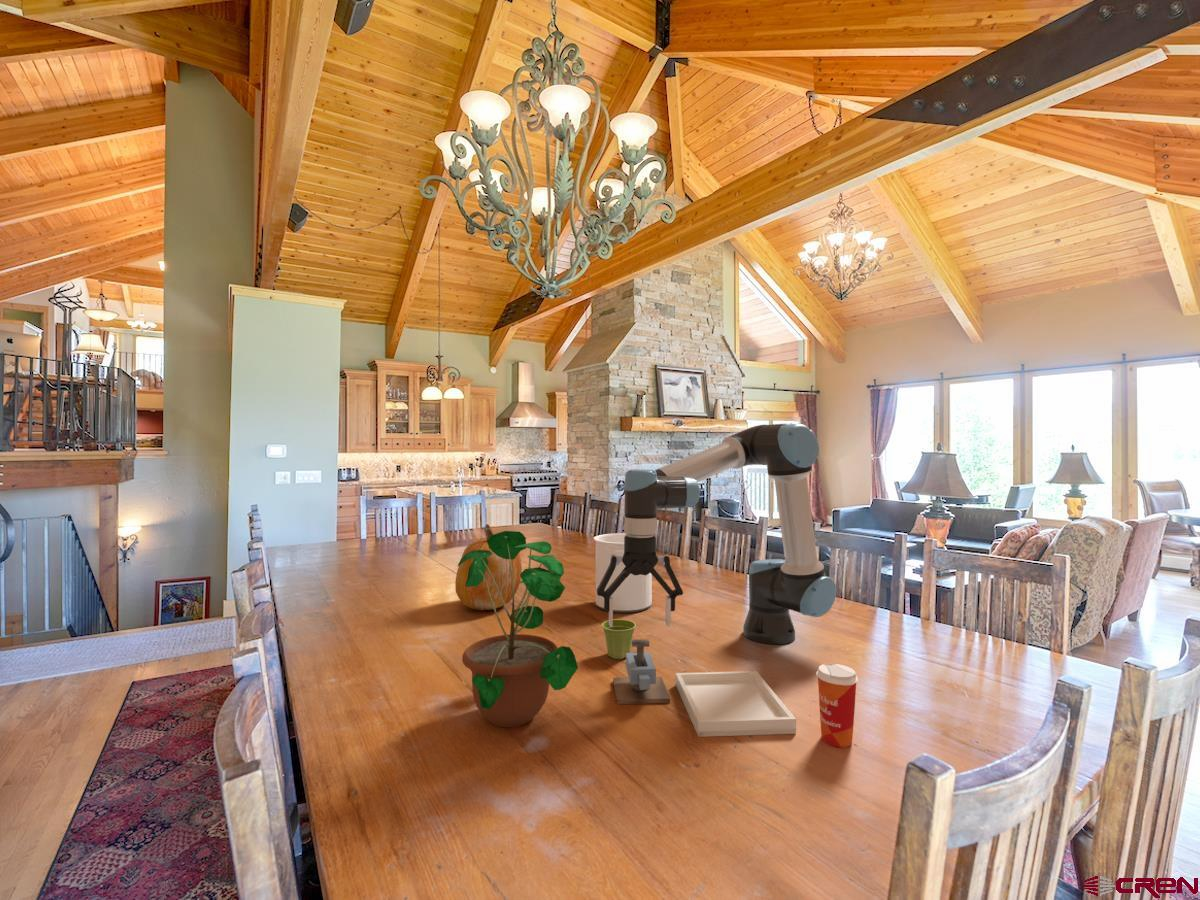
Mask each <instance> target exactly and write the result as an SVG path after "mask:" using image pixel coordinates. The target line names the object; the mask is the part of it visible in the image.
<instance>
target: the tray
mask: <svg viewBox="0 0 1200 900" xmlns="http://www.w3.org/2000/svg"><path fill="white" fill-rule="evenodd" d="M675 687H676V689H677V691H678V694H679V696H680V698H681V700H682V703H683V705H684V708H685V709H686V712H687V714H688V716H689V719H690V721H691V723H692V725H693V727H694V731H695V732H696V734H697V737H698V738H701V737H703V738H704V737H706V738H707V737H732V736H733V737H736V736H737V737H739V736H764V735H792V734H793V735H795V734H797V718H796V717H795V716H794V715H793V713H792V712H791V711H790V710H789V708H787V706H786V705H785V703H783V701H782V700H781V699H780V697H779V696H778V695H777V694H776V693H775V692H774V690H773V689H772V688H771V686H769V684H768V683H767V682H766V681H765V680H764V678H763V677H762V675H760V673H759V672H758V671H757V670H755V671H754V670H750V671H745V670H744V671H710V672H709V671H708V672H700V671H699V672H675Z"/></svg>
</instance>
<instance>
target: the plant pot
mask: <svg viewBox="0 0 1200 900" xmlns="http://www.w3.org/2000/svg"><path fill="white" fill-rule="evenodd" d="M636 624H637V623H635V622H634V621H632V620H630V619H629V620H628V619H619V618H618V619H617V618H616V619H614V618H613V627H609V619H608V620H605V621H604V622H602V623H601V627H602V629H603V633H604V635H605V643H606V651H607V656H608V657H610V658H611V659H614V660H624V659H626V653H632V652H631V651H632V650H631V649H632V640H633V636H634V635H633V634H634V632H635V629H636V627H637V625H636Z"/></svg>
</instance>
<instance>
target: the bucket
mask: <svg viewBox="0 0 1200 900" xmlns="http://www.w3.org/2000/svg"><path fill="white" fill-rule="evenodd" d="M626 535H627V534H625V533H624V532H623V533H619V532H618V533H617V532H616V533H615V532H613V533H605V534H600V535H596V536H594V537H593V541H594V542H595V605H596V606H597V607H598V608H599V609H601V610H602V611H605V610H604V597H602V596H598V595H597V588H598V586H599V584H600V582H601V580H602V578H603V577H604V575H605V573H606V571H607V569H608V567H609V565H610V559H611V555H615V556H620V557H623V555H624V537H625V536H626ZM625 567H626V566H625V565H624V563H623V562H620V563H619V565H617V566H616V567H615V570H614V572H613V574H612V576H611V578H610V580H609V582H608V584H607V586H606V588H605V591H606V590H607V589H608V587H609V586H610V585H611V584H612V583H613V581H614V580H615V579H616V578H617V577H618V576H619V574H620V573H621V572H622V570H623V569H624V568H625ZM652 576H653V575H652V574H651V573H649V574H647V575H641V574H640V575H633V574H630V575H629V576H628V577H627V578H626V579H625V580H624V581H623V582H622V583H621V585H620V586H619V587H618V588H617V589H616V590H615V592H614V593H613V594H612V595H611V596H612V598H613V613H616V614H617V613H618V614H619V613H620V614H631V613H638V612H643V611H646V610H647V609H649V608H650V607H651V606H652V602H653V601H652V593H653V592H652V590H653V589H652V588H653V586H652V585H653V584H652V580H653V578H652Z"/></svg>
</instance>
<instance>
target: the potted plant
mask: <svg viewBox="0 0 1200 900" xmlns="http://www.w3.org/2000/svg"><path fill="white" fill-rule="evenodd" d="M487 543H488V546H489V548H490V549H491V551H492V552H494V553H495V554H496V555H497V556H499V557H502V558H504V559H509V560H510V559H515V557H516V556H517V555H518V554H519V555H520V552H521V551H524V550H526V549H529V555H528V556H527V558H528V568H524V569H523V571H522V572H521V574H520V576H521V580H520V582H519V583H520V584H524V585H525V590H524V593H523V595H522V597H521V600H520V601H519V603H518V606H517V607H516V609H515V595H514V585H513V576H512V568H511V560H510V570H511V580H512V593H513V598H512V602H511V605H512V606H511V613H509V611H508V607H507V606H506V604H505V603H504V601H503V598H502V596H501V593H500V591H499V588H498V586H497V584H496V582H495V580H494V578H493V576H492V574H491V572H490V570H489V568H488V563H489V561H488V559H487V557H488V556H490V555H492V554H493V553H492V552H490V551H488V550H474V551H470V552H468V553H467V554H465V555H464V556H463V557H462V556H461V558H460V559H459V560H460V561H459V562H458V564H457V567H459V565H460V564H462V563H463V562H465V561H467V560H469V559H473V558H474V559H473V561H472V563H471V565H470V567H469V571H468V578H467V581H466V584H465V586H466V587H471V586H474V587H477V586H478V585H479V584H480V583H481V582H482V581H483V579H485V577H484V575H485V572H486V568H487V569H488V571H489V573H490V575H491V577H492V579H493V581H494V583H495V586H496V588H497V590H498V593H499V595H500V597H501V600H502V603H503V609H504V610H505V612H506V615H507V617H508V618H509V621H510V631H509V634H507V632H506V629H505V628H504V625H503V624H502V622H501V619H500V616H499V615H498V613H497V609H495V607H494V604H493V601H492V598H491V595H490V591H489V588H488V584H487V581H486V579H485V581H486V585H487V588H488V592H489V596H490V600H491V603H492V606H493V609H494V610H493V611H494V614H495V617H496V618H497V619H496V620H497V622H498V624H499V625H500V629H501V631H502V632H503V634H501V635H497V636H496V635H495V636H491V637H486V638H484V639H481V640H478V641H476V642H474V643H472V644H470V645H469V646H468V647H467V648H465V650H464V652H463V653H462V658H461V660H462V663H463V664H462V665H464V666H465V667H466V668H468V669H469V670H470V671H471V686H472V689H471V690H472V694H473V695H472V696H473V701H474V703H475V705H476V707H477V710H479V712H480V713H481V715H482V716H483V717H484V718H486V719H487V720H488V721H489V722H490V723H491V724H493V725H495V726H498V727H502V728H503V727H504V728H512V727H513V728H514V727H518V726H521V725H522V726H523V725H525V724H528V723H529V722H530V721H531V720H533V718H534V717H535V716H536V715H537V714H538V713H539V712H540V711H541V709H542V708H543V707H544V706H545V704H546V700H547V698H548V695H549V689H550V686H551V688H552V689H553V690H554V691H560V690H563V689H565V688H566V687H567V685H568V684H569V682H570V681H571V679H572V677H573V676H574V675H575V673H576V672H577V671H578V669H579V667H578V663H577V658H576V656H575V655H576V654H575V653H574V651H573V649H572V648H571V647H570V646H564V645H560V646H559V647H558V646H557V644H555V642H553V641H552V640H550V639H548V638H545V637H543V636H538V635H534V634H525V633H524V634H523V633H520V634H519V632H521V631H522V630H523V629H527V630H533V629H537V628H539V627H540V626H541V625H543V624H544V623H543V622H544V611H543V609H542V608H541V607H539V606H535V604H536V600H539V601H543V602H549V603H550V602H555V601H557V600H558V599H560V598H561V596H562V594H563V592H564V590H565V589H566V587H565V586H564V584H563V583H562V582H561V578H562V577H563V575H565V574H564V573H565V570H564V569H565V568H564V565H563V563H562V562H561V561H560V560H558V559H557V558H556V557H555V556H554V555H553V554H550V553H551V551H552V549H553V547H552V544H550V543H549V542H547V541H545V540H543V541H536V542H535V541H534V542H528V543H527V539H526V536H525V535H524V534H523V533H522V532H521V531H516V530H513V531H512V530H504V531H501V532H498V533H493V535H491V536H490V538H489V540H488V542H487ZM532 551H534V552H537V553H540V554H541V555H534V554H532ZM531 561H534V562H537V563H539V564H540V565H539V566H538V567H531V563H532V562H531ZM542 565H543V567H545V568H546V569H545V568H543V567H542ZM526 595H527V596H526ZM531 596H532V597H534V599H533V602H532V605H528V604H529V601H530V598H531ZM525 598H526V599H525ZM518 627H520V628H519V629H518Z"/></svg>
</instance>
